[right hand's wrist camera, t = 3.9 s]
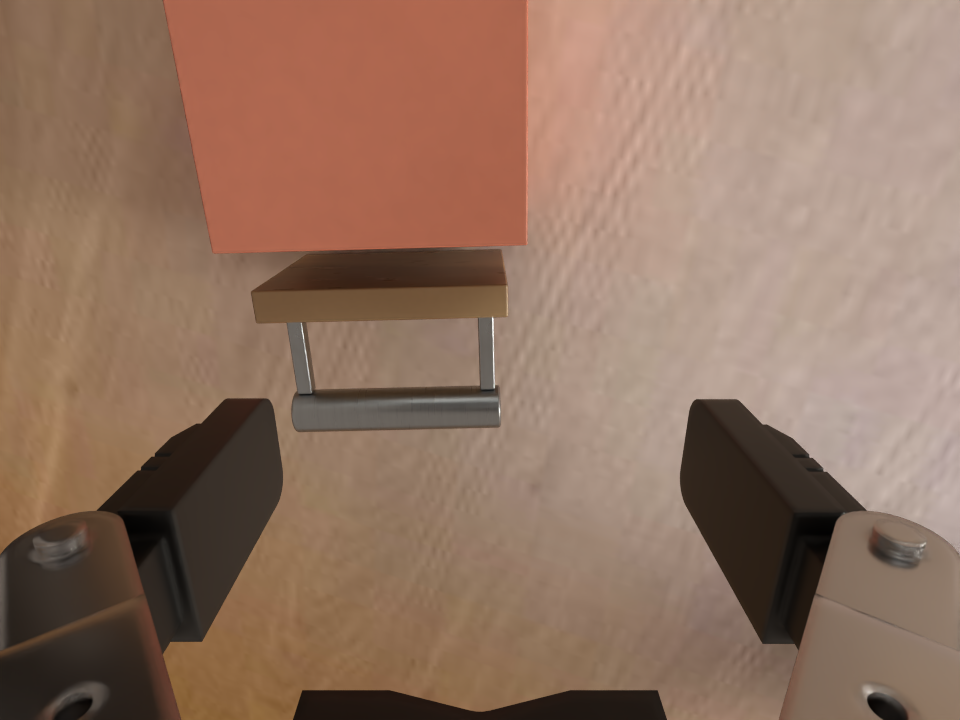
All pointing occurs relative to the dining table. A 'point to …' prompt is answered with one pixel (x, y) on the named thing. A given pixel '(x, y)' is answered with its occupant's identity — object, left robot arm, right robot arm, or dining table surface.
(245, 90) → the cabinet
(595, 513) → the dining table surface
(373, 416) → the drawer
